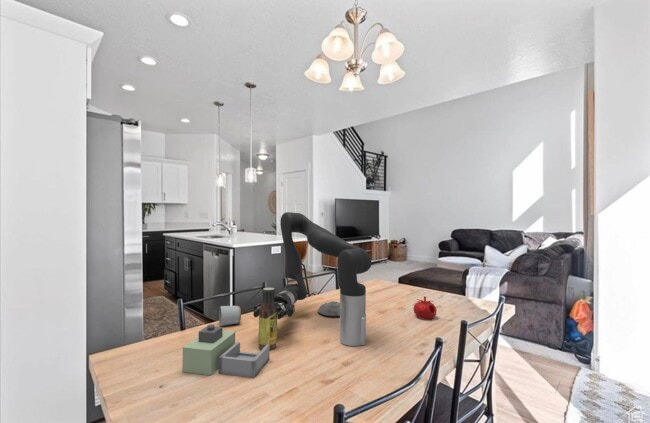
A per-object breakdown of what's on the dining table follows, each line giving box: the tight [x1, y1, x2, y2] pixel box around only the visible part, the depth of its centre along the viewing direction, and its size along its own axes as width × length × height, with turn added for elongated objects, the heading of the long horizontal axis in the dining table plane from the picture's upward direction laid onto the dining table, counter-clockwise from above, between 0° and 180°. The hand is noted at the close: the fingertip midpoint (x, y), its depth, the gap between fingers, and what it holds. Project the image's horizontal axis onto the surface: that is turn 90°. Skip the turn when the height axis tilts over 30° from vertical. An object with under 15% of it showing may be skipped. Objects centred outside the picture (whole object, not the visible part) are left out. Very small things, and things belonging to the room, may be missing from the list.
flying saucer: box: [317, 300, 340, 317], centre depth 141 cm, size 15×15×6 cm
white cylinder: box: [218, 305, 242, 327], centre depth 127 cm, size 11×8×8 cm
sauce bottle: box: [257, 287, 278, 350], centre depth 104 cm, size 7×6×20 cm
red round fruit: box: [412, 296, 438, 321], centre depth 136 cm, size 10×10×9 cm
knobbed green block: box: [182, 323, 271, 378], centre depth 92 cm, size 22×14×11 cm, turn 79°
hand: (266, 315), depth 103 cm, fingers open, 8 cm apart
